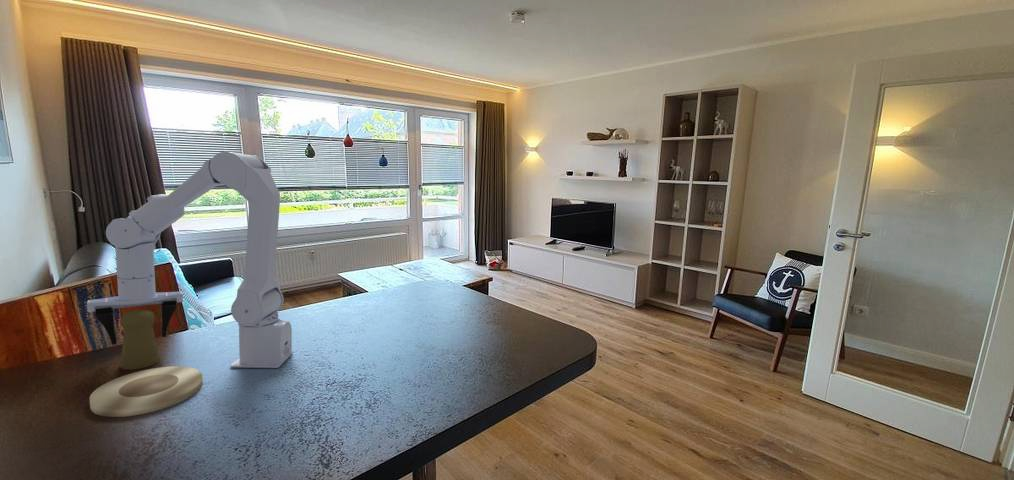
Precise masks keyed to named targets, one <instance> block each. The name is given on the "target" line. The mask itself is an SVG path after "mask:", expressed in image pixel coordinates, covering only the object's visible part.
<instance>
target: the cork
mask: <svg viewBox="0 0 1014 480" xmlns="http://www.w3.org/2000/svg"><path fill="white" fill-rule="evenodd" d="M155 321H156V315H155V313H154V312H153V311H152V310H149V309H134V310H131V311H127V312H125V313H123V314H122V316H121V317H120V320H119V322H120V326H121V327H122V328H123V329H124V332H123V339H122V350H121V356H120V365H119V367H120V369H122V370H138V369H144V368H149V367H151V366H154V365H155V364H157V363H159V362H160V361H161V360H160V359H161V357H160V354H159V350H158V346H157V341H156V337H155V333H154V328H153V325H154V323H155Z"/></svg>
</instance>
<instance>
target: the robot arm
mask: <svg viewBox="0 0 1014 480" xmlns="http://www.w3.org/2000/svg"><path fill="white" fill-rule="evenodd" d="M271 170H272V167H271V166H270V165H269V164H268V163H267V162H266V161H265V160H263V159H262V158H261V157H259V156H257V155H255V154H243V153H242V154H241V153H235V152H231V151H221V152H218V153H217V154H215V155H213V157H212V158H209V159H207V160H206V161H204V163H203V164H202V166H201V167H200V168H199V169H198V170H197V171H195V172H194V173H193V174H192V175H191V176H189V177H188V178H187V179H186V180H184V181H183V183H181V184H180V185H179V186H177V187H176V188H175V189H174V190H173V191H171V192H170V193H169V194H165V193H163V194H161V193H160V194H155V195H154V194H153V195H149V196H148V197H147V198H146V200H147V202H145V203H144V204H143V205H141V206H140V207H139V208H137V209H136V210H131V211H130V212H128V216H127V217H126V218H123V217H120V218H115V219H112V220H111V222H110V223H109V224H108V225H107V226H106V230H105V236H106V239H107V241H108V242H109V243H110V244H111V245H112V246H114V248H115V264H116V277H117V278H116V280H117V294H118V296H110V297H103V298H96V299H88V300H87V302H86V309H87V311H86V312H87V313H93V312H95V317H96V319H97V321H98V322H99V323H101V325H102V326H103V328H104V330H106V332H107V334H108V337H109V338H110V343H111V345H112V346H113V345H117V344H118V335H117V329H116V323H115V322H116V320H115V319H116V318H115V309H122V308H131V307H139V306H140V307H141V306H150V305H159V304H161V305H160V307H161V338H165V337H167V331H168V327H169V324H170V322H171V319H172V317H173V315H174V313H175V312H176V309H177V307H178V305H177V303H183V302H184V297H183V296H184V295H183V294H184V293H183V291H167V292H164V291H163V292H162V291H161V292H156V276H155V274H156V273H155V257H154V256H155V253H154V252H155V250H156V243H157V242H158V241H159V239H160V238H161V233H162V232H164V230H166V229H168V228H169V227H170V226H172V225H174V224H175V223H176V222H177V221H178V220H180V219H181V218H183V217H184V215H185V211H186V210H185V208H186V207H187V206H188V205H190V204H191V203H193V202H194V201H196V200H197V199H199V198H201V197H202V196H203V195H206V193H208V192H210V191H211V190H213V189H214V188H216V187H218V186H219V187H220V186H225V187H228V188H230V189H232V190H234V191H236V192H237V193H239V194H240V195H241V196H242V197H243V199H245V200H246V201H247V202H248V215H247V216H248V218H247V235H246V248H245V249H246V253H245V267H244V269H245V270H244V278H243V280H242V281H241V282H240V285H239V286H238V288H237V290H236V291H237V292H236V297H235V299H234V301H233V302H232V305H231V307H230V311H231V316H232V318H233V319H234V321H235V322H237V323H238V338H239V339H238V342H239V345H238V347H239V348H238V349H239V358H237V359H236V360H235V361H233V362H232V363H231V364H230V368H240V369H242V368H246V369H247V368H248V369H249V368H250V369H251V368H257V369H262V368H263V369H278V368H280V367H281V366H282V365H283V364H284V363H285V361H287V360H288V358H289V357H291V355H292V354H293V353H294V351H293V349H292V347H293V344H292V343H293V340H292V339H293V336H292V335H293V334H292V333H293V330H292V324H291V322H290V321H287V320H282V319H280V318H279V314H278V313H279V310H280V309H281V308H282V307H283V304H284V300H285V299H284V295H283V293H282V291H281V281H280V280H279V279H278V278H277V277H276V276H275V275H276V262H277V247H278V246H277V245H278V235H279V233H278V232H279V218H280V207H281V206H280V205H281V194H280V191H279V189H278V187H277V185H276V183H275V180H274V178H273V176H272V174H271V173H272V171H271Z"/></svg>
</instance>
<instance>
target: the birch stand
mask: <svg viewBox="0 0 1014 480" xmlns="http://www.w3.org/2000/svg"><path fill="white" fill-rule="evenodd" d="M202 387H203V373H202V372H201V371H200V370H198V369H197V368H194V367H190V366H178V365H177V366H172V365H171V366H162V367H154V368H153V367H152V368H149V369H143V370H138V371H135V372H132V373H128V374H125V375H122V376H120V377H117V378H114V379H112V380H110V381H107V382H106V383H103V384H102V385H99V387H97V388H96V389H95V390H94V391H93V392H92V393H90V395H89V398H88V399H89V409H90V411H91V413H93V414H95V415H96V416H97V415H98V416H101V417H106V418H124V417H125V418H126V417H132V416H133V417H134V416H139V415H144V414H148V413H154V412H156V411H161V410H163V409H167V408H170V407H173V406H175V405H177V404H179V403H182V402H183V401H185V400H188V399H189V398H190V397H191V398H192V397H193V396H194V395H196V393H198V392H199V390H200V389H201V388H202Z"/></svg>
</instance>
